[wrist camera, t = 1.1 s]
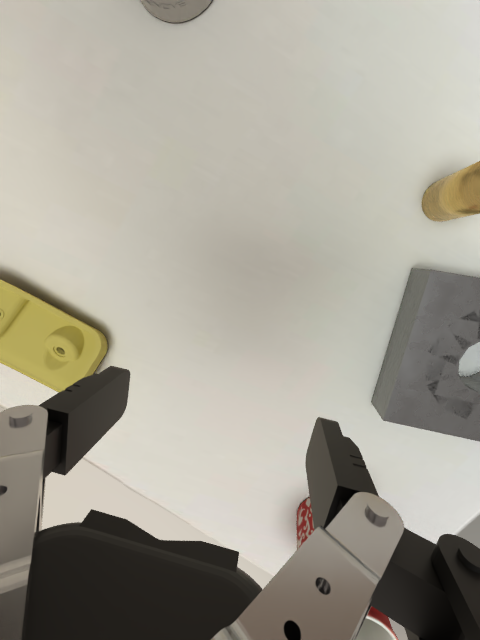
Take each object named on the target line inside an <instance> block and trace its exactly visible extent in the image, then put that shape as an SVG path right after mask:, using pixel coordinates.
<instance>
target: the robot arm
mask: <svg viewBox="0 0 480 640" xmlns="http://www.w3.org/2000/svg"><path fill="white" fill-rule="evenodd" d="M140 1H141V2H142V4H143V5H144V6H145V8H146V9H147V10H148V11H149V12H150V13H151V14H153V15H154V16H155V17H157V18H159V19H161V20H163V21H167V22H172V23H173V22H184V21H187V20H190V19H192V18H194V17H196V16H197V15H199V14H200V13H201V12H202V11H203V10H205V9H206V8H207V7H208V5H209V4H210V3H211V1H212V0H140ZM129 381H130V371H129V370H127V369H122V368H118V367H114V366H110V367H108V368H107V369H105V370H104V371H102V372H101V373H99V374H98V375H97V374H94V375H90V376H87V377H84V378H82V379H80V380H78V381H77V382H75V383H74V384H73V385H70V386H69V387H67V388H66V389H65V390H63V391H61V392H59V393H58V394H56V395H55V396H53V397H51V398H50V399H48V400H47V401H45V402H44V403H42V404H40V405H39V406H36V405H22V406H16V407H12V408H9V409H6V410H4V411H2V412H0V640H356V638H357V636H358V634H359V632H360V630H361V627H362V625H363V623H364V621H365V619H366V617H367V615H368V612H369V610H370V608H371V606H372V607H374V608H375V609H377V610H378V611H380V612H382V613H383V614H385V615H386V616H388V617H389V618H391V619H392V620H394V621H396V622H397V623H399V624H400V625H402V626H403V627H405V630H406V633H407V637H408V640H480V549H479V548H478V547H476V546H475V545H473V544H472V543H470V542H469V541H467V540H465V539H463V538H461V537H458V536H456V535H452V534H444V535H441V536H440V537H439V540H438V542H437V544H434V543H432V542H430V541H428V540H426V539H424V538H422V537H420V536H418V535H417V534H415V533H413V532H411V531H409V530H407V529H406V528H404V524H403V521H402V519H401V517H400V515H399V514H398V512H397V511H396V510H395V509H394V508H393V507H392V506H391V505H390V504H389V503H388V502H386V501H385V500H383V499H382V498H380V497H379V496H378V493H377V491H376V489H375V486H374V484H373V481H372V479H371V477H370V474H369V472H368V470H367V469H366V465H365V462H364V460H363V458H362V455H361V453H360V451H359V448H358V447H357V446H356V445H355V444H354V442H353V441H352V440H351V439H350V438H348V437H344V436H343V435H342V432H341V430H340V427H339V424H338V422H336V421H332V420H328V419H324V418H320V417H318V418H317V420H316V423H315V426H314V429H313V433H312V436H311V439H310V443H309V446H308V450H307V454H306V472H307V480H308V487H309V494H310V502H311V509H312V517H313V524H314V532H313V533H312V534H311V535H310V536H309V537H308V538H307V540H306V541H305V542H304V543H303V544H302V545H301V546H300V548H299V549H298V550H297V551H296V552H295V553H294V554H293V556H292V557H291V558H290V559H289V560H288V561H287V562H286V564H285V565H284V566H283V567H282V568H281V569H280V570H279V572H278V573H277V574H276V575H275V576H274V577H273V578H272V580H271V581H270V582H269V583H268V584H267V585H266V587H265V588H264V589H263V590H262V588H261V587H260V586H259V585H258V584H257V583H256V582H255V581H254V580H253V579H252V578H251V577H250V576H249V575H248V574H246V573H245V572H244V571H242V570H241V569H239V568H238V567H237V563H238V556H239V552H237V551H234V550H230V549H227V548H223V547H220V546H217V545H213V544H209V543H206V542H202V541H164V540H158V539H157V538H155V537H153V536H152V535H150V534H149V533H147V532H145V531H144V530H142V529H141V528H139V527H138V526H136V525H134V524H133V523H131V522H130V521H128V520H126V519H123V518H119V517H116V516H112V515H109V514H106V513H102V512H99V511H95V510H91V511H90V512H89V513H88V515H87V516H86V518H85V519H84V521H83V522H82V523H68V524H62V525H57V526H54V527H50V528H47V529H44V530H41V527H42V516H43V504H44V493H45V477H46V476H48V475H49V474H50V473H51V472H55V473H58V474H62V475H66V474H67V473H68V472H69V471H70V470H71V469H72V468H73V467H74V466H75V465H76V464H77V463H78V461H79V460H80V459H81V458H82V457H83V456H84V455H85V454H86V453H87V452H88V451H89V450H90V449H91V448H92V447H93V446H94V445H95V444H96V443H97V442H98V441H99V440H100V439H101V438H102V437H103V436H104V435H105V434H106V432H107V431H108V430H109V429H110V428H111V427H112V426H113V425H114V424H115V423H116V422H117V421H118V420H119V419H120V418H121V417H122V415H123V413H124V411H125V409H126V406H127V399H128V390H129Z"/></svg>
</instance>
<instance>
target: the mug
mask: <svg viewBox="0 0 480 640" xmlns="http://www.w3.org/2000/svg"><path fill="white" fill-rule="evenodd" d="M313 532H314V524H313V517H312V509H311V502H310V497H309V498H307V499H306V500H304V501H303V502H302V503H301V505H300V506H299V508H298V511H297V550H298V549H299V548H300V546H301V545H302V544H303V543H304V542H305V541H306V540H307V538H308V537H309V536H310V535H311V534H312V533H313ZM356 640H398V638H397V636H396V634H395V633H394V631H393V629H392V627H391V624H390V621H389V618H388V616H386V615H385V614H383V613H382V612H380V611H378V610H377V609H375V608H374V607H372V606H371V608H370V610H369V612H368V615H367V617H366V619H365V621H364V623H363V625H362V627H361V630H360V632H359V634H358V636H357V638H356Z"/></svg>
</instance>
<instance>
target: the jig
mask: <svg viewBox="0 0 480 640" xmlns="http://www.w3.org/2000/svg"><path fill="white" fill-rule="evenodd" d="M478 342H480V278H476V277H470V276H464V275H458V274H452V273H446V272H441V271H435V270H426V269H413V268H412V270H411V273H410V276H409V280H408V283H407V286H406V289H405V293H404V296H403V299H402V303H401V306H400V309H399V312H398V316H397V319H396V322H395V326H394V329H393V332H392V336H391V339H390V342H389V345H388V349H387V352H386V355H385V359H384V362H383V365H382V368H381V372H380V375H379V378H378V382H377V385H376V388H375V391H374V395H373V398H372V401H371V402H372V404H373V406H374V407H375V409H376V410H377V412H378V413H379V415H380V416H381V418H382V419H383V421H388V422H393V423H397V424H402V425H406V426H411V427H416V428H420V429H425V430H430V431H434V432H439V433H443V434H448V435H453V436H457V437H462V438H467V439H471V440H476V441H480V372H478V373H476V374H474V375H472V376H470V377H459V375H458V370H459V360H460V358H461V357H462V356H463V354H464V353H465V351H466V350H467V349H468V347H470V346H472V345H474V344H476V343H478Z"/></svg>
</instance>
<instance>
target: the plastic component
mask: <svg viewBox="0 0 480 640" xmlns="http://www.w3.org/2000/svg"><path fill="white" fill-rule="evenodd" d="M61 348H62V349H63V350H64V351H65V352H64V351H63V350H61ZM106 352H107V340H106V338H105V336H104V335H103V334H102V333H101V332H100V331H99V330H97V329H95V328H93V327H91V326H89V325H87V324H86V323H84V322H82V321H80V320H78V319H76V318H74V317H73V316H71V315H69V314H67V313H65V312H63V311H61V310H60V309H58V308H56V307H54V306H52V305H50V304H48V303H47V302H45V301H43V300H41V299H39V298H37V297H35V296H33V295H31V294H29V293H27V292H25V291H23V290H21V289H19V288H18V287H16V286H13V285H11V284H9V283H7V282H5V281H3V280H0V363H2V364H4V365H6V366H8V367H10V368H12V369H14V370H16V371H18V372H20V373H22V374H24V375H26V376H28V377H30V378H32V379H34V380H36V381H38V382H40V383H42V384H44V385H46V386H48V387H50V388H51V389H53V390H55V391H57V392H61V391H63V390H65V389H66V388H67V387H69V386H70V385H73V384H74V383H75V382H77V381H78V380H80V379H82V378H84V377H87V376H90V375H93V373H94V372H95V370H96V368H97V367H98V365H99V364H100V362H101V361H102V359H103V357H104V356H105V354H106Z"/></svg>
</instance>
